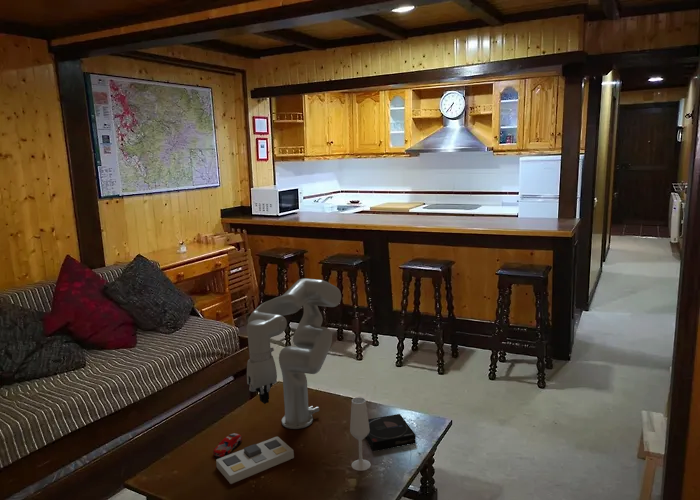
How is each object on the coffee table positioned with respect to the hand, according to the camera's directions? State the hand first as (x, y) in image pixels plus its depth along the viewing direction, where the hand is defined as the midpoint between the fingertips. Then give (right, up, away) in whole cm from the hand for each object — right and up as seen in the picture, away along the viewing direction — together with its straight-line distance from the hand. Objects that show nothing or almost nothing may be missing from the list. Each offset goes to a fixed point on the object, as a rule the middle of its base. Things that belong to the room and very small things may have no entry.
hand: (264, 401), depth 193 cm
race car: (-14, -19, +5) cm, 24 cm away
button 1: (-10, -21, -8) cm, 24 cm away
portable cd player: (+45, -16, +9) cm, 49 cm away
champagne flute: (+35, -19, -9) cm, 41 cm away
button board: (-2, -20, -5) cm, 21 cm away
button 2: (+3, -19, +1) cm, 19 cm away
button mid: (-4, -18, -4) cm, 19 cm away
